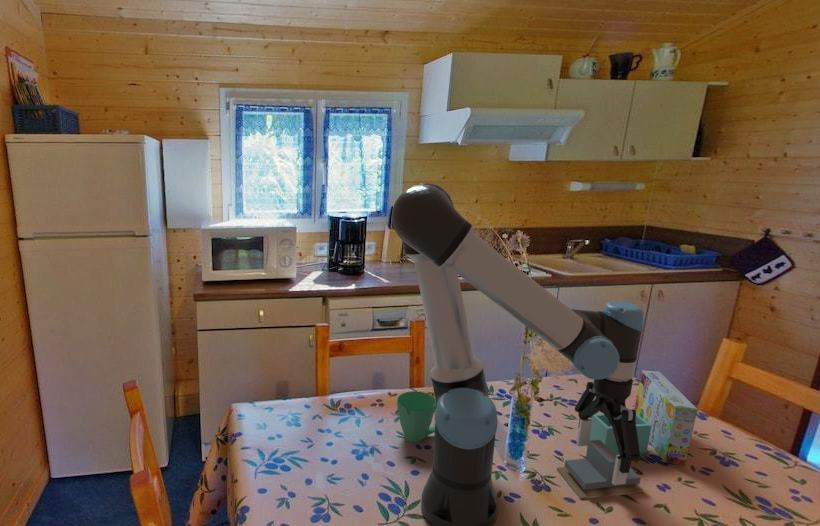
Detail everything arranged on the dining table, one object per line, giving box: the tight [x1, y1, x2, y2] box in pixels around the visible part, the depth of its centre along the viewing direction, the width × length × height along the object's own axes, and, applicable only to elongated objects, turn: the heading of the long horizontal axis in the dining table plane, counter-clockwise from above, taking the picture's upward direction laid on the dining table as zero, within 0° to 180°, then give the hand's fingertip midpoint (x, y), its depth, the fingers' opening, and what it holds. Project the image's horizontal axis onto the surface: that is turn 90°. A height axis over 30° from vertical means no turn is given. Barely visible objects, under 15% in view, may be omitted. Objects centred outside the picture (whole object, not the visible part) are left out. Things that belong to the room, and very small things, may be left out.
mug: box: [396, 390, 436, 443], centre depth 118 cm, size 15×10×10 cm
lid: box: [564, 440, 641, 490], centre depth 104 cm, size 14×8×7 cm, turn 102°
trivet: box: [556, 466, 644, 500], centre depth 105 cm, size 15×10×1 cm, turn 102°
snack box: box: [634, 369, 698, 466], centre depth 121 cm, size 21×6×15 cm, turn 175°
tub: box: [589, 413, 651, 456], centre depth 117 cm, size 12×6×8 cm, turn 102°
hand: (599, 463), depth 104 cm, fingers open, 13 cm apart
